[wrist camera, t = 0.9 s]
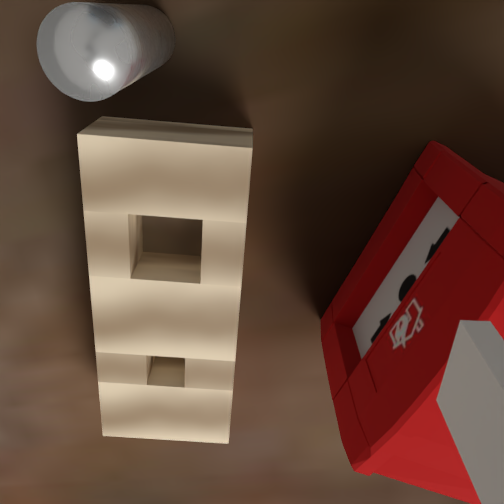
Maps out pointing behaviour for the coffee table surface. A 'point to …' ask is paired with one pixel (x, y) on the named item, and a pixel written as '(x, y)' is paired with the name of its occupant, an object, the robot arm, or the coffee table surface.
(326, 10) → the coffee table surface
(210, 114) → the coffee table surface
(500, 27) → the coffee table surface
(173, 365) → the bore block
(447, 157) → the fire alarm
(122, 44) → the pin
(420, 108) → the coffee table surface
